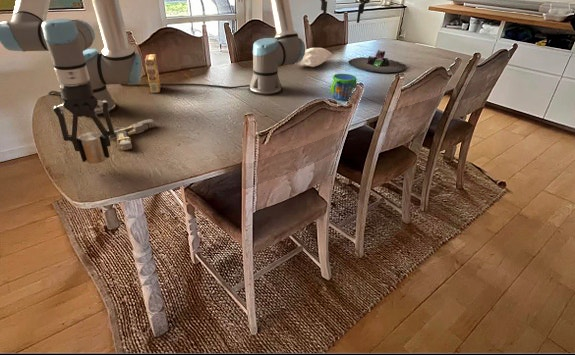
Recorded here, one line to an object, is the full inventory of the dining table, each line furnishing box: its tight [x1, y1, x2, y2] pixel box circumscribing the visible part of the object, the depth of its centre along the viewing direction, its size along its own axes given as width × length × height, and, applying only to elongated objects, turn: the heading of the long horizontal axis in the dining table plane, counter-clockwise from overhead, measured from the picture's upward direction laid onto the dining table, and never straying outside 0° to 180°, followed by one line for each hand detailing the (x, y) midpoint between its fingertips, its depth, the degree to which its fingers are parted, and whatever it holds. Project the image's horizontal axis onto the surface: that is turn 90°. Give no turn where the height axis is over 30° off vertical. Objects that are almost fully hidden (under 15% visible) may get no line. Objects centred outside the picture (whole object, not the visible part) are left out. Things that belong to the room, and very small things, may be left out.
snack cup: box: [329, 73, 358, 101], centre depth 169 cm, size 16×10×10 cm
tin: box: [78, 131, 108, 165], centre depth 108 cm, size 6×6×8 cm
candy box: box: [144, 54, 162, 94], centre depth 168 cm, size 9×4×15 cm, turn 13°
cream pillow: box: [294, 47, 333, 68], centre depth 217 cm, size 24×35×9 cm
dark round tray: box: [347, 49, 407, 74], centre depth 221 cm, size 35×35×9 cm
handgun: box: [109, 118, 157, 151], centre depth 130 cm, size 3×18×15 cm
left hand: (96, 157), depth 110 cm, fingers closed on tin, 6 cm apart
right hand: (340, 21), depth 145 cm, fingers open, 13 cm apart
